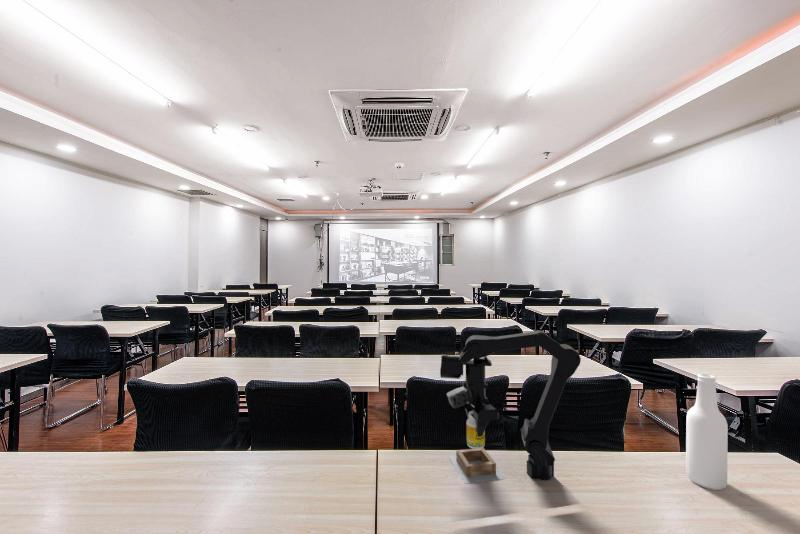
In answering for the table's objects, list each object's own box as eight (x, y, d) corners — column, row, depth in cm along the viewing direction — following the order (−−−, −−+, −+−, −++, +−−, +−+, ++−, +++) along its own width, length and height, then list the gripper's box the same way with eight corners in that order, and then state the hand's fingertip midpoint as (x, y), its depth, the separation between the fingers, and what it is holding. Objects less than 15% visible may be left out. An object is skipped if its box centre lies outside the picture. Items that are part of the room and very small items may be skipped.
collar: (483, 457, 110) (483, 447, 110) (495, 473, 101) (495, 463, 101) (456, 460, 108) (456, 450, 108) (466, 477, 100) (466, 466, 100)
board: (484, 456, 113) (484, 452, 113) (505, 482, 99) (505, 478, 99) (448, 460, 111) (448, 456, 111) (464, 487, 97) (464, 483, 97)
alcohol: (692, 468, 106) (693, 369, 105) (731, 484, 98) (732, 377, 98) (680, 478, 101) (681, 374, 100) (721, 495, 93) (721, 382, 93)
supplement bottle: (475, 439, 108) (475, 407, 108) (489, 446, 104) (488, 413, 104) (462, 444, 105) (462, 412, 105) (475, 451, 101) (475, 418, 101)
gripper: (440, 371, 112) (440, 420, 112) (460, 392, 94) (461, 450, 94) (473, 369, 114) (473, 417, 114) (499, 389, 96) (500, 446, 96)
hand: (475, 431), depth 105 cm, fingers closed on supplement bottle, 5 cm apart
